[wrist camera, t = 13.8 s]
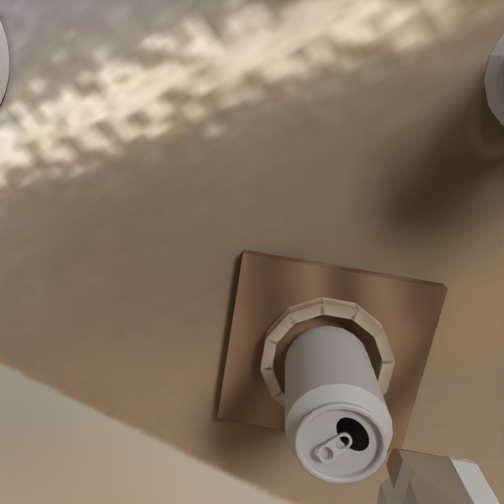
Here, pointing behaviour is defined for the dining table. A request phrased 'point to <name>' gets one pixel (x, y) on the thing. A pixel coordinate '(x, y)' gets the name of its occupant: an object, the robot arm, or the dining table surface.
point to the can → (334, 406)
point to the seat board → (324, 314)
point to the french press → (496, 80)
